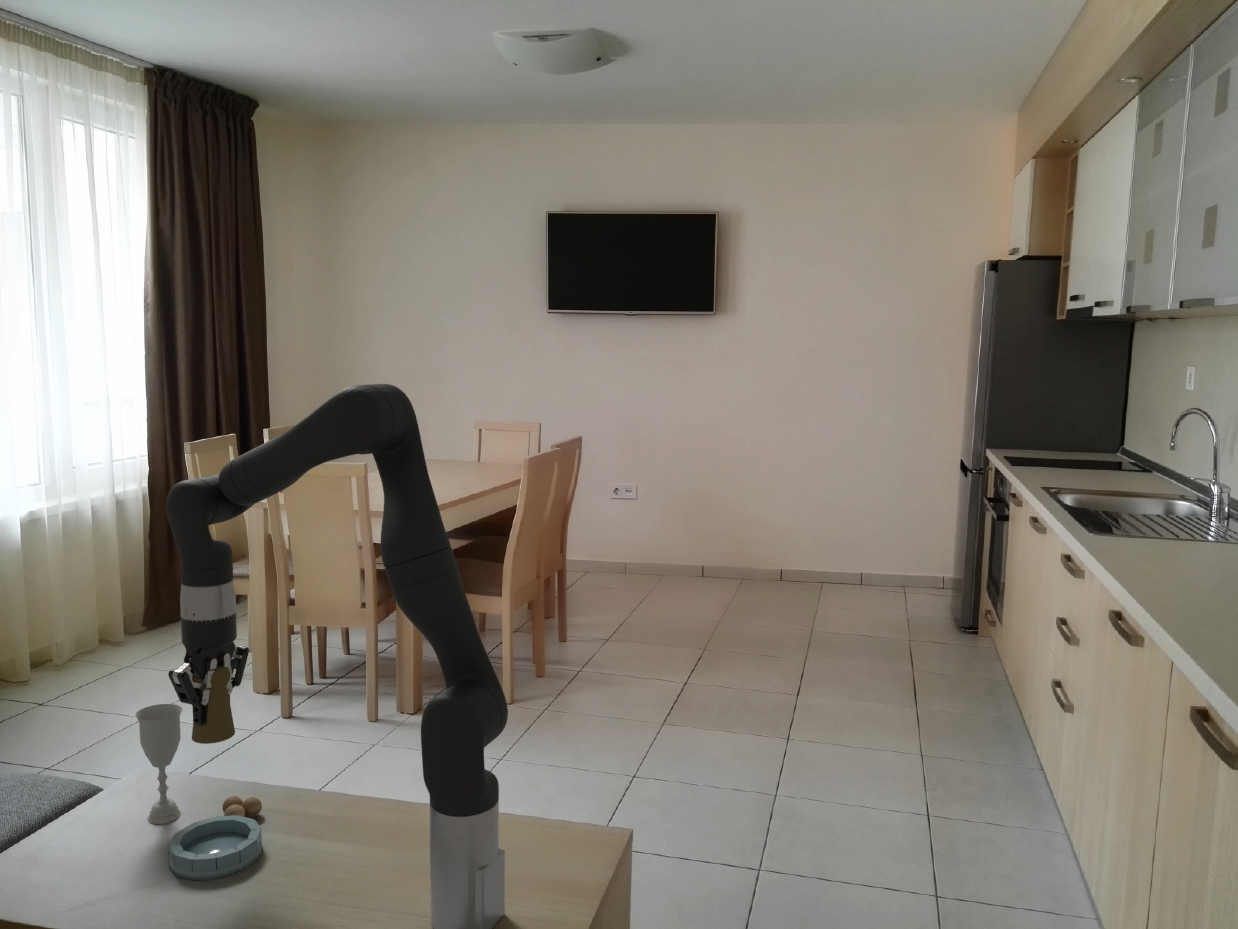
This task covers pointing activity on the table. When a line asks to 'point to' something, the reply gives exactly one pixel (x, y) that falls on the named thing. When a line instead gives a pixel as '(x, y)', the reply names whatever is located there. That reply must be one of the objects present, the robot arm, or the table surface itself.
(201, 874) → the dish
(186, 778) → the table surface
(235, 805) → the bead pile
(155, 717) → the chalice
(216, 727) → the cork
